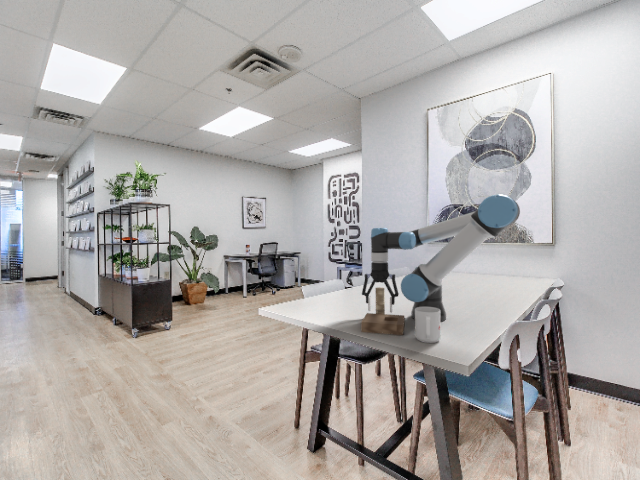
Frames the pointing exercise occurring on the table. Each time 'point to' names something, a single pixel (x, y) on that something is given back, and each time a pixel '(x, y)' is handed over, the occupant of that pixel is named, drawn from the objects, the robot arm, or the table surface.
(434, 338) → the mug
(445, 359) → the table surface
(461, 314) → the table surface
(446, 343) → the table surface
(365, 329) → the board
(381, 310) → the peg
